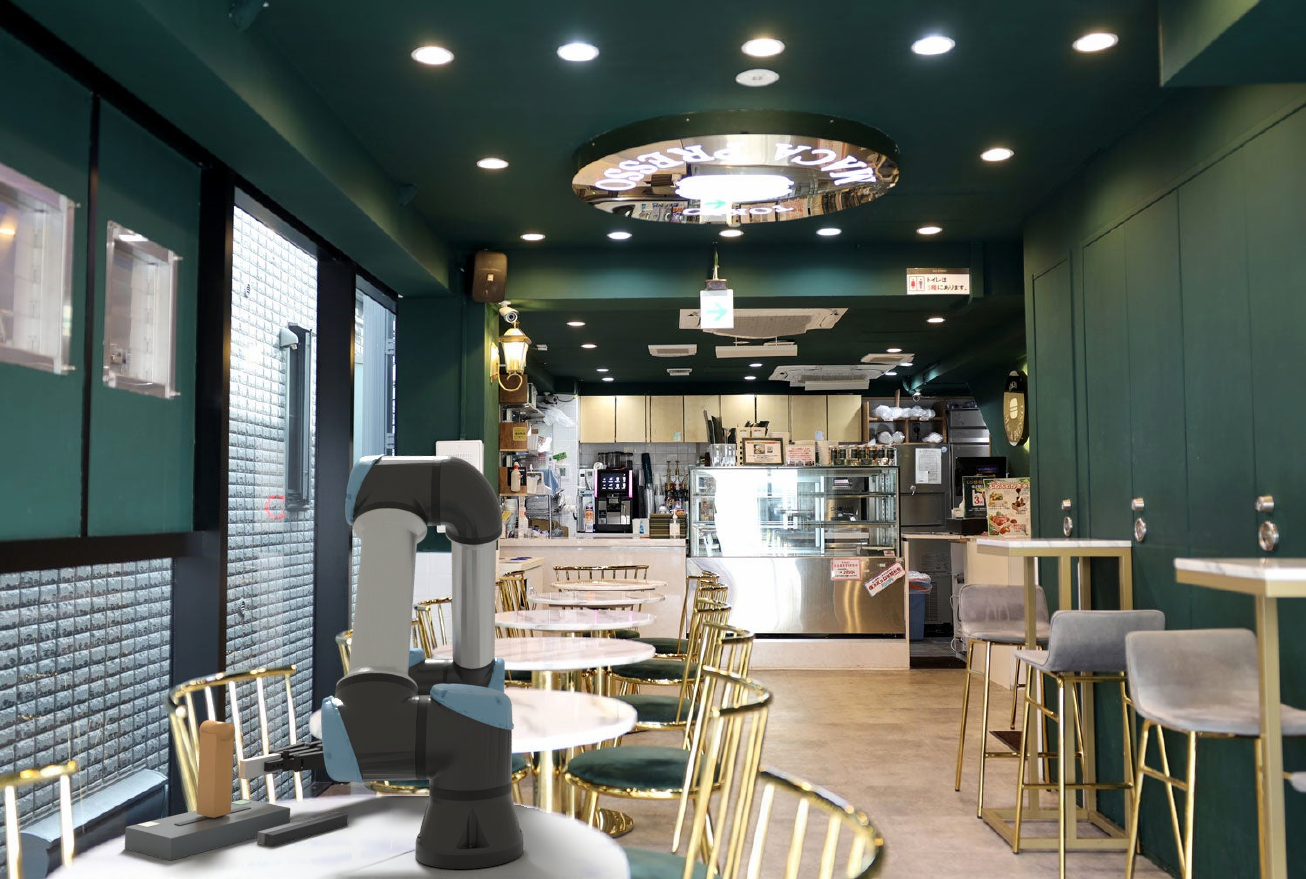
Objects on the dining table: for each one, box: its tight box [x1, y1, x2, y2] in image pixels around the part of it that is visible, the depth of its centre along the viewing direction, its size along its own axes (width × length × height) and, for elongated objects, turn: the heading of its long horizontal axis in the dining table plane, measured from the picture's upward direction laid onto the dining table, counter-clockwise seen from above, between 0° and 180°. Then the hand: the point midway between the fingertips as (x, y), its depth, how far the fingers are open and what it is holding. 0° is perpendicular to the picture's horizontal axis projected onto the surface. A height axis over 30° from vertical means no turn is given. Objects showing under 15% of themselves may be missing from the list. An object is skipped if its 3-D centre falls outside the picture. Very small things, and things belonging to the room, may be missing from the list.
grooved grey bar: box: [256, 811, 349, 848], centre depth 160 cm, size 3×14×2 cm, turn 148°
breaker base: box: [124, 798, 291, 861], centre depth 158 cm, size 11×20×3 cm, turn 148°
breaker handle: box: [196, 719, 236, 818], centre depth 159 cm, size 5×3×14 cm, turn 58°
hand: (242, 769), depth 163 cm, fingers closed
